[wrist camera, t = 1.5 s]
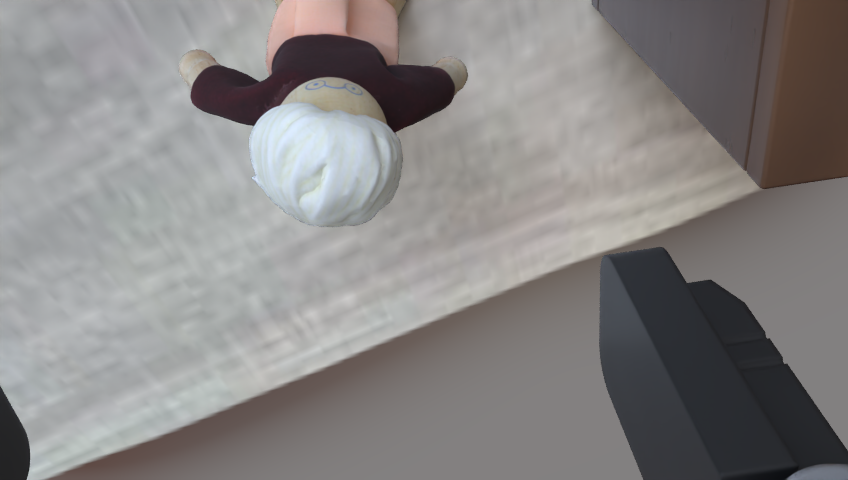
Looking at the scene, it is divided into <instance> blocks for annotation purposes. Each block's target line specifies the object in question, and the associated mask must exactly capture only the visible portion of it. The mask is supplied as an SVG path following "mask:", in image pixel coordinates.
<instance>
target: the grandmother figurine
mask: <svg viewBox="0 0 848 480" xmlns="http://www.w3.org/2000/svg"><path fill="white" fill-rule="evenodd" d="M405 2H406V0H275V3H276V6H277V11H276V13H275V16H274V19H273V22H272V25H271V28H270V31H269V35H268V41H267V45H268V47H267V53H266V65H267V69H268V72H269V75H270V76H269V77H268V78H267V79H265V80H264V81H261V82H259V81H257V80H255V79H254V78H252V77H250V76H249V75H247V74H244V73H242V72H239V71H237V70H234V69H230V68H227V67H224V66H221V65H220V64H219V63H217V62H216V60H215V59H214V58H213V57H212V56H211V55H210V54H209V53H207V52H206V51H203V50H198V49H196V50H192V51H189V52H187V53H186V54H185V55H184V56H183V57H182V58H181V60H180V62H179V73H180V75H181V77H182V79H183V80H184V82H186V83H187V84H188V85H189V86H190V88H191V100H192V103H193V104H194V105H195V106H196V107H197V108H199V109H200V110H202V111H204V112H207V113H210V114H213V115H217V116H220V117H223V118H226V119H229V120H232V121H235V122H238V123H242V124H246V125H252V126H254V127H253V129H252V132H251V135H250V138H249V151H250V158H251V162H252V166H253V169H254V171H255V173H256V175H255V177H252V179H253V180H254V181H255V182H256V183H257V184H258V185H259V186H260V187H261V188H262V189H263V190H264V191H265V193H266V194H267V195H268V197H269V198H270V199H271V200H272V201H273V202H274V203H275V204H276V205H277V206H279V208H281V209H282V210H283V211H284V212H285V213H287V214H289V215H291V216H293V217H294V218H296V219H297V220H299V221H300V222H303V223H306V224H308V225H313V226H319V227H339V226H344V225H350V226H355V225H360V224H363V223H366V222H367V221H369V220H371V219H372V218H373V217H374V216H375V215H376V214H377V212H378V211H379V210H380V209H382V208H383V207H384V206H386V205H387V204H388V203H389V202H390V201H391V200H392V198H393V197H394V194H395V192H396V190H397V188H398V184H399V180H400V177H401V169H402V161H403V157H402V148H401V143H400V140H399V138H398V137H397V136H396V134H395V132H397V131H399V130H401V129H403V128H405V127H407V126H410V125H413V124H415V123H417V122H419V121H421V120H423V119H425V118H427V117H429V116H430V115H432V114H434V113H436V112H439V111H441V110H442V109H444V108H446V107H447V106H448V105H449V104H450V103H451V102H452V100H453V98H454V96H455V95H456V93H457V92H458V91H459V90H461V89H462V88H463V87H464V85H465V83H466V81H467V78H468V73H467V69H466V66H465V65H464V63H463V62H462V61H461V60H459V59H457V58H455V57H444V58H442V59H440V60H439V61H438V62H437V63H436V64H434V65H432V66H416V65H397V64H398V57H399V29H398V21H397V19H398V16H399V14H400V12H401V10H402V8H403V6H404V4H405Z"/></svg>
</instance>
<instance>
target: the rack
mask: <svg viewBox="0 0 848 480" xmlns="http://www.w3.org/2000/svg"><path fill="white" fill-rule="evenodd" d="M592 5H593V6H594V7H595V8H596V9H597V10H598V11H599V12H600V13H601V14H602V16H603V17H604V18H605V19H606V20H607V21H608V22H609V23H610V24H611V25H612V27H613V28H614V29H615V30H616V31H617V32H618V33H619V34H620V35H621V36H622V37H623V39H624V40H625V41H626V42H627V43H628V44H629V45H630V46H631V47H632V48H633V49H634V51H635V52H636V53H637V54H638V55H639V56H640V57H641V58H642V59H643V60H644V62H645V63H646V64H647V65H648V66H649V67H650V68H651V69H652V70H653V71H654V72H655V74H656V75H657V76H658V77H659V78H660V79H661V80H662V81H663V82H664V83H665V84H666V86H667V87H668V88H669V89H670V90H671V91H672V92H673V93H674V94H675V95H676V97H677V98H678V99H679V100H680V101H681V102H682V103H683V104H684V105H685V106H686V107H687V109H688V110H689V111H690V112H691V113H692V114H693V115H694V116H695V117H696V118H697V119H698V121H699V122H700V123H701V124H702V125H703V126H704V127H705V128H706V129H707V130H708V132H709V133H710V134H711V135H712V136H713V137H714V138H715V139H716V140H717V141H718V142H719V144H720V145H721V146H722V147H723V148H724V149H725V150H726V151H727V152H728V153H729V154H730V156H731V157H732V158H733V159H734V160H735V161H736V162H737V163H738V164H739V165H740V167H741V168H742V169H743V170H745V171H747V174H748V175H749V176H750V177H751V178H752V179H753V180H754V181H755V183H756V184H757V185H758V186H759V187H760V188H762V189H768V188H774V187H780V186H788V185H794V184H801V183H808V182H815V181H821V180H828V179H835V178H841V177H848V0H592Z"/></svg>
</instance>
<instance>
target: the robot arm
mask: <svg viewBox="0 0 848 480" xmlns="http://www.w3.org/2000/svg"><path fill="white" fill-rule="evenodd" d="M599 341H600V342H599V344H600V345H599V346H600V358H601V365H602V371H603V375H604V379H605V383H606V387H607V390H608V393H609V395H610V398H611V400H612V403H613V405H614V408H615V410H616V413H617V415H618V418H619V420H620V423H621V425H622V428H623V430H624V433H625V435H626V438H627V440H628V442H629V445H630V447H631V450H632V452H633V455H634V457H635V460H636V462H637V465H638V467H639V470H640V472H641V475H642V477H643V480H848V451H847V449H846V448H845V446H844V445H843V443H842V442H841V441H840V439H839V438H838V436H837V435H836V433H835V432H834V431H833V429H832V428H831V426H830V425H829V423H828V422H827V420H826V419H825V417H824V416H823V415H822V413H821V412H820V410H819V409H818V407H817V406H816V405H815V404H814V402H813V400H812V399H811V397H810V396H809V395H808V393H807V392H806V390H805V389H804V387H803V386H802V384H801V383H800V382H799V380H798V379H797V377H796V376H795V374H794V373H793V371H792V370H791V369H790V367H789V366H788V364H784V363H783V357H782V356H781V354H780V353H779V351H778V350H777V348H776V347H775V346H774V344H773V343H772V341H771V340H770V339H767V338H766V335H765V331H764V330H763V328H762V327H761V326H760V324H759V323H758V321H757V320H756V319H755V317H754V315H753V314H752V312H751V311H750V310H749V308H748V307H747V305H746V304H745V303H744V302H743V301H741V300H740V299H738V298H737V297H736V296H734V295H733V294H731V293H729V292H728V291H727V290H725V289H724V288H722V287H721V286H719V285H718V284H716V283H715V282H713V281H712V280H705V281H698V282H692V283H686V281H685V279H684V278H683V276H682V274H681V273H680V271H679V270H678V268H677V266H676V265H675V263H674V262H673V260H672V258H671V257H670V255H669V254H668V252H667V251H666V250H665V249H664V248H662V247H656V248H650V249H643V250H637V251H629V252H623V253H616V254H609V255H604V256H603V258H602V261H601V269H600V339H599ZM29 467H30V447H29V441H28V437H27V434H26V432H25V429H24V427H23V426H22V424H21V422H20V420H19V418H18V417H17V415H16V413H15V411H14V410H13V408H12V406H11V404H10V403H9V401H8V399H7V397H6V395H5V394H4V392H3V390H2V388H1V387H0V480H26V479H27V476H28V472H29Z"/></svg>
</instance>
